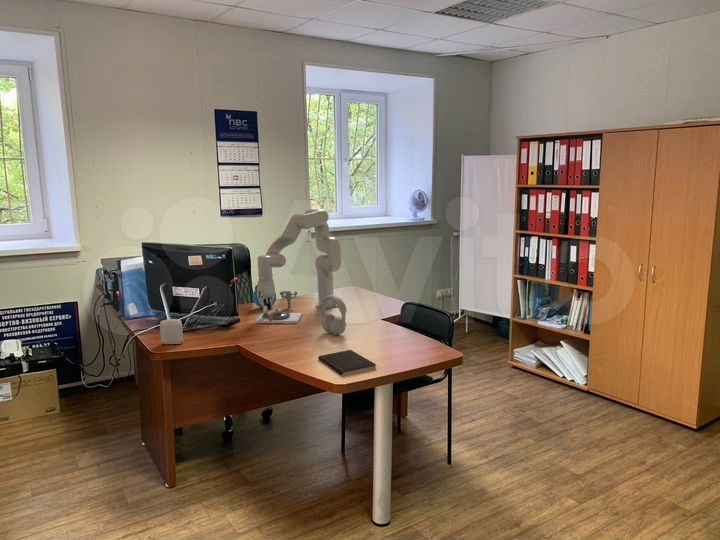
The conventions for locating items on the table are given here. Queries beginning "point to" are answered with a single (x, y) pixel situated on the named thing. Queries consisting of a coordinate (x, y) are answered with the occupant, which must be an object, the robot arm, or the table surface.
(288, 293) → the mechanical component
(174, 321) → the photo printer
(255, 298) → the alarm clock
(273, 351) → the table surface
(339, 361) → the hardcover book
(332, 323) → the headphones
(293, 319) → the base plate
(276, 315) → the flange
